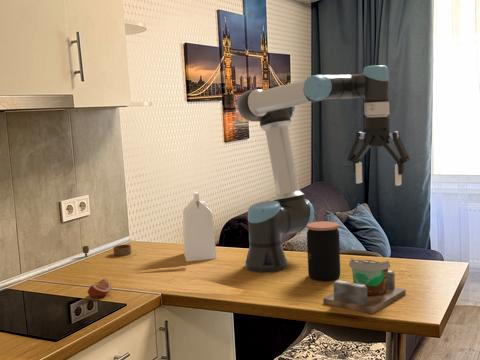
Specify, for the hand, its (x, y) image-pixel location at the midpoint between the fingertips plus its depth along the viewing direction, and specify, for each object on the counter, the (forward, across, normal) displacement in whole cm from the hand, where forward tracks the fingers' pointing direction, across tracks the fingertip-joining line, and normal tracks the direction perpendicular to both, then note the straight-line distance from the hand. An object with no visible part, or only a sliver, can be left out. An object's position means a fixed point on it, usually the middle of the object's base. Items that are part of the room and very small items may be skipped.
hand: (378, 184), depth 184 cm
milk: (+32, -73, -9) cm, 80 cm away
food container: (+30, +5, -17) cm, 35 cm away
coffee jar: (+32, -18, -5) cm, 37 cm away
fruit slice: (+32, -67, -60) cm, 95 cm away
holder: (+32, +4, -17) cm, 36 cm away
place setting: (+32, -106, -26) cm, 114 cm away
